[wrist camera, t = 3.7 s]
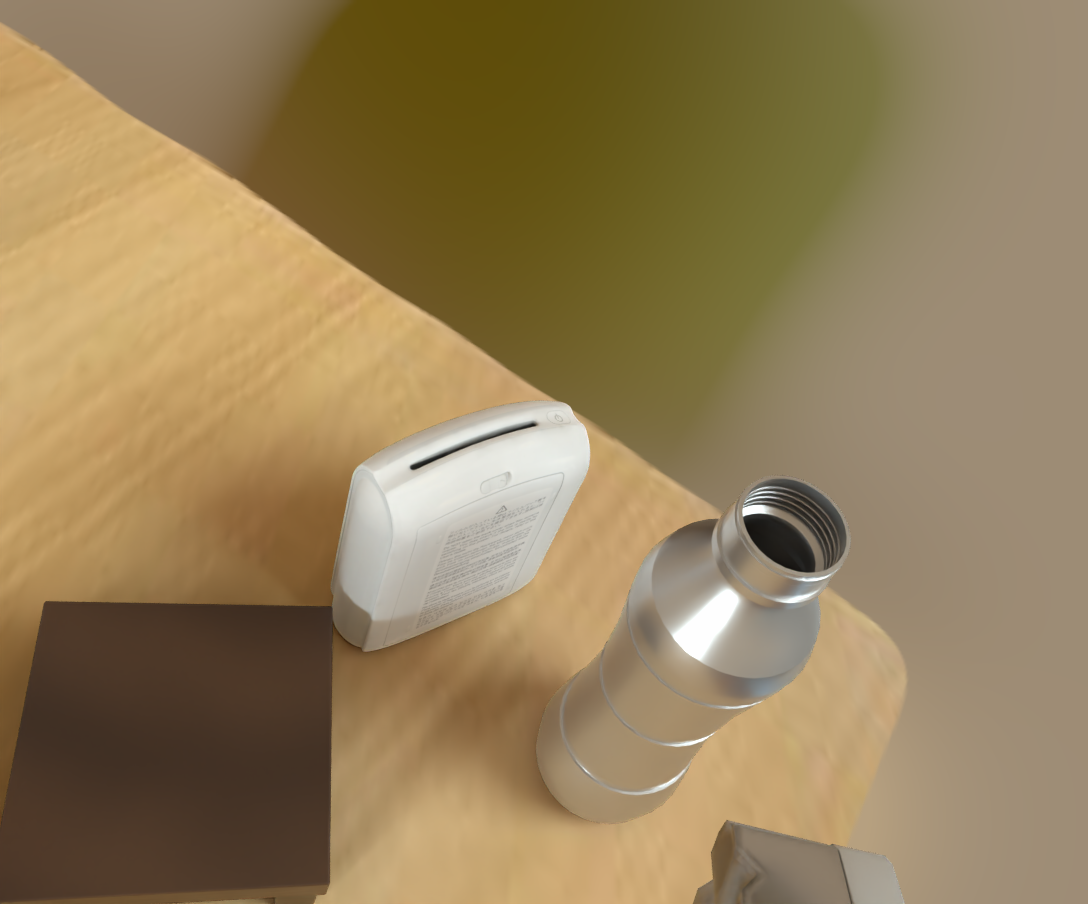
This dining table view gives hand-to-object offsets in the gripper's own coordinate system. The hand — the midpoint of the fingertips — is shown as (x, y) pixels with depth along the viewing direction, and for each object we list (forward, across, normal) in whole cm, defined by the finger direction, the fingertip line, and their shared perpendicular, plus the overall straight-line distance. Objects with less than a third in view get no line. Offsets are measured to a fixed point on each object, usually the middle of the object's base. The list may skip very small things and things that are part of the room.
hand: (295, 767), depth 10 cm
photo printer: (+34, +2, +18) cm, 39 cm away
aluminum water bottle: (+30, -7, +22) cm, 38 cm away
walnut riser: (+24, +10, +23) cm, 35 cm away
